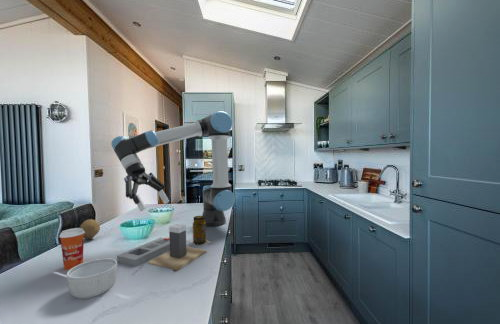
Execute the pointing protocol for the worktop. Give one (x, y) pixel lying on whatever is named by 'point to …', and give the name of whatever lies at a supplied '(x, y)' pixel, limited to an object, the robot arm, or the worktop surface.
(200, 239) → the condiment
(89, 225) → the natural sponge
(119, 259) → the grey slotted holder
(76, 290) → the ramekin
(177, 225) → the charger
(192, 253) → the tan cloth
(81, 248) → the paper cup
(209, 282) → the worktop surface
